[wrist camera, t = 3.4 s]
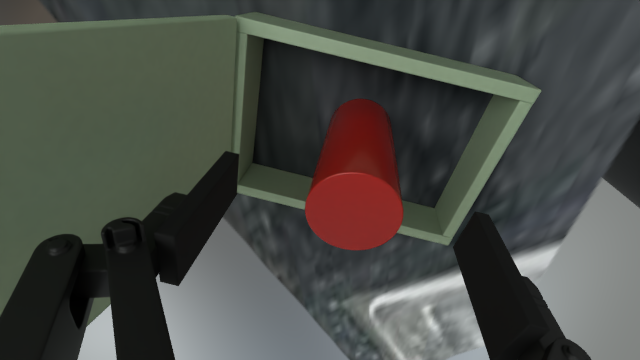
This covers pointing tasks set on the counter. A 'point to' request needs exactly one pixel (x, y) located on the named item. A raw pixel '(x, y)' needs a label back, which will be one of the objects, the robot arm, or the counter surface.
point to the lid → (105, 125)
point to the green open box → (491, 130)
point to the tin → (356, 180)
